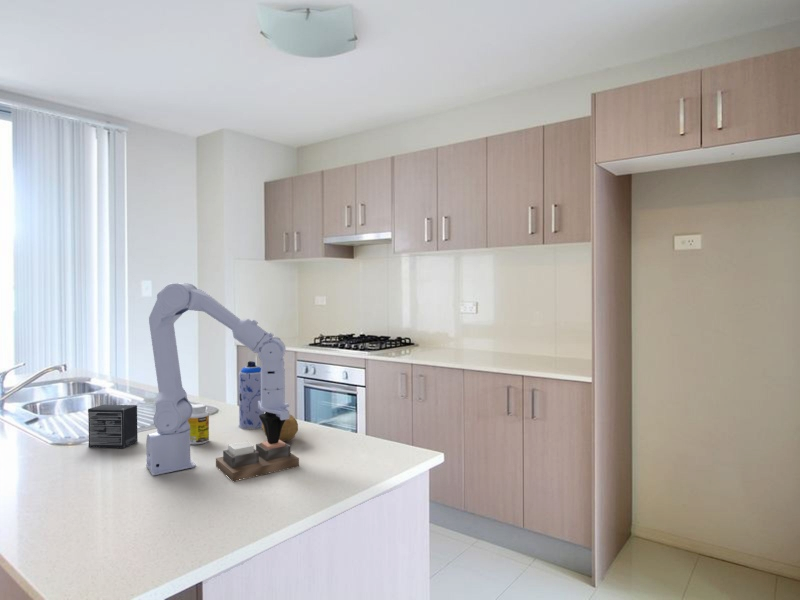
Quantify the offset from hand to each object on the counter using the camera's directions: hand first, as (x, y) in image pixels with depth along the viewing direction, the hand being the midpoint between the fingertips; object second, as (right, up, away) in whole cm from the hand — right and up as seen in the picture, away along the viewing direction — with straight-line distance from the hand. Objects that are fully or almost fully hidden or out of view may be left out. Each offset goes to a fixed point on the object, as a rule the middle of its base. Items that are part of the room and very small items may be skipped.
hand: (273, 442), depth 124 cm
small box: (-47, -5, +14) cm, 50 cm away
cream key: (-6, -1, -5) cm, 8 cm away
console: (-3, -5, -2) cm, 6 cm away
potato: (-3, -5, +18) cm, 19 cm away
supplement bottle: (-25, -5, +16) cm, 30 cm away
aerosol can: (-15, -4, +33) cm, 36 cm away
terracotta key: (0, -2, 0) cm, 2 cm away
